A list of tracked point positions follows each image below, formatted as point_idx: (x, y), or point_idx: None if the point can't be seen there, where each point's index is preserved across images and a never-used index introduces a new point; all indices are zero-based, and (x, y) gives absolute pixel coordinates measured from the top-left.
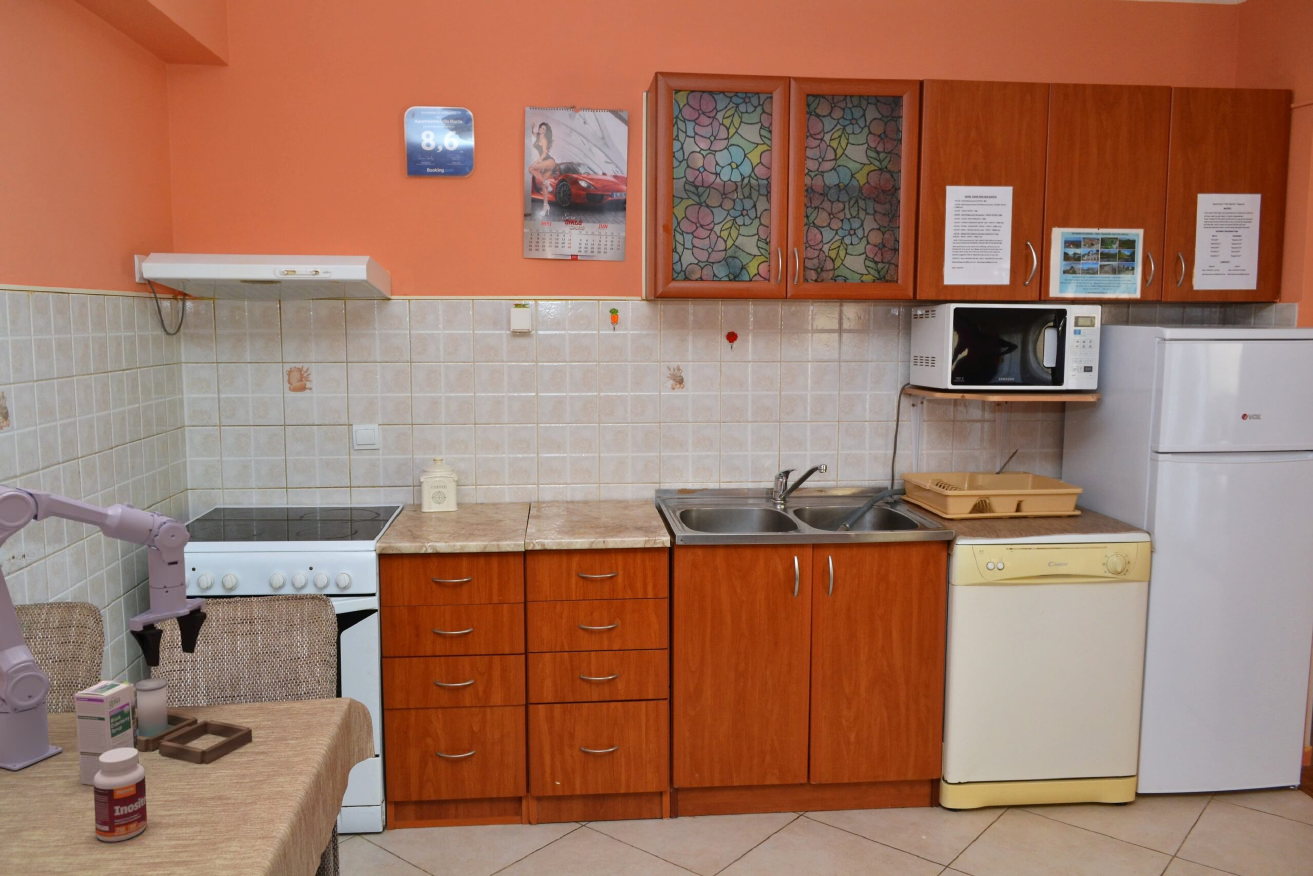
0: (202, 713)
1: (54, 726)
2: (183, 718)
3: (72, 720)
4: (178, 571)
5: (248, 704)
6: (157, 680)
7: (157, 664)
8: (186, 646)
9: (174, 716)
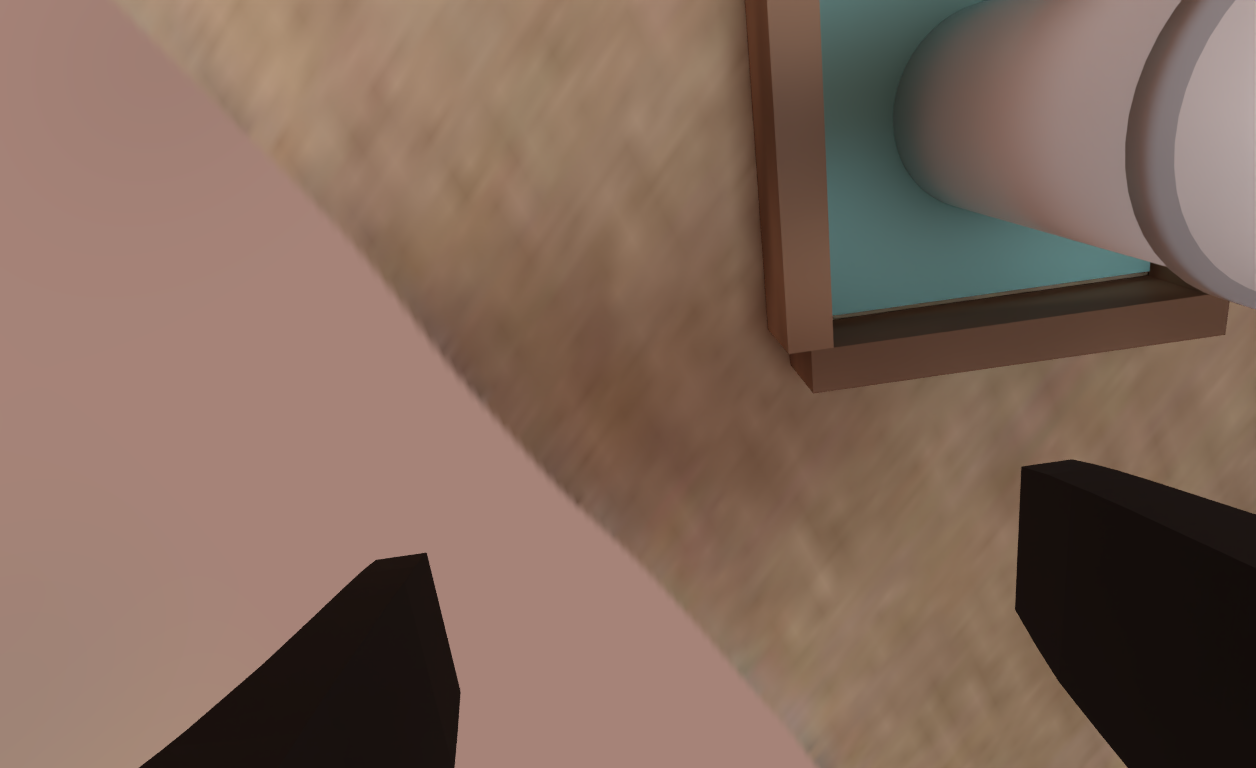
0: (514, 183)
1: (1074, 754)
2: (819, 12)
3: (978, 757)
4: None
5: (164, 5)
6: (1251, 137)
7: (1070, 466)
8: (428, 703)
9: (821, 127)
